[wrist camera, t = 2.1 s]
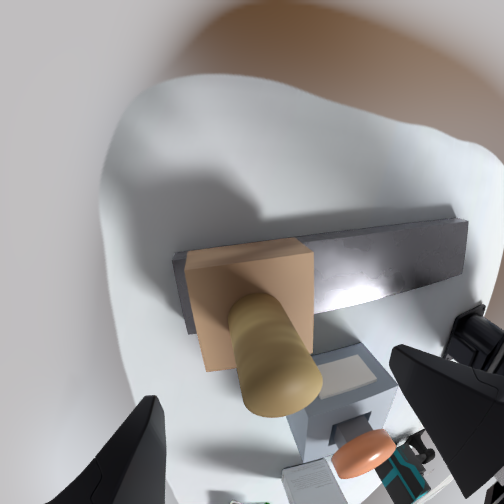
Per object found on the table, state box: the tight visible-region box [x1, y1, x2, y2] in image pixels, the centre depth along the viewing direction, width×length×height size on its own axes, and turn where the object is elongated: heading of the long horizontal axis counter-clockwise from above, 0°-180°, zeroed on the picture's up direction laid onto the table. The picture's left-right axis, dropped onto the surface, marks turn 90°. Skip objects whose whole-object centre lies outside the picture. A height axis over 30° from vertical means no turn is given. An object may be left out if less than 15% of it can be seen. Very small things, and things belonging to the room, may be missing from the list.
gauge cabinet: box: [286, 343, 399, 463], centre depth 19 cm, size 7×7×6 cm
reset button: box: [332, 415, 396, 479], centre depth 15 cm, size 4×4×4 cm
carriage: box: [184, 237, 323, 418], centre depth 12 cm, size 6×6×8 cm
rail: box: [172, 218, 468, 335], centre depth 18 cm, size 24×5×2 cm, turn 95°
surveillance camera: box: [374, 429, 435, 504], centre depth 25 cm, size 6×12×10 cm
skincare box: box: [282, 459, 348, 504], centre depth 21 cm, size 6×4×12 cm
